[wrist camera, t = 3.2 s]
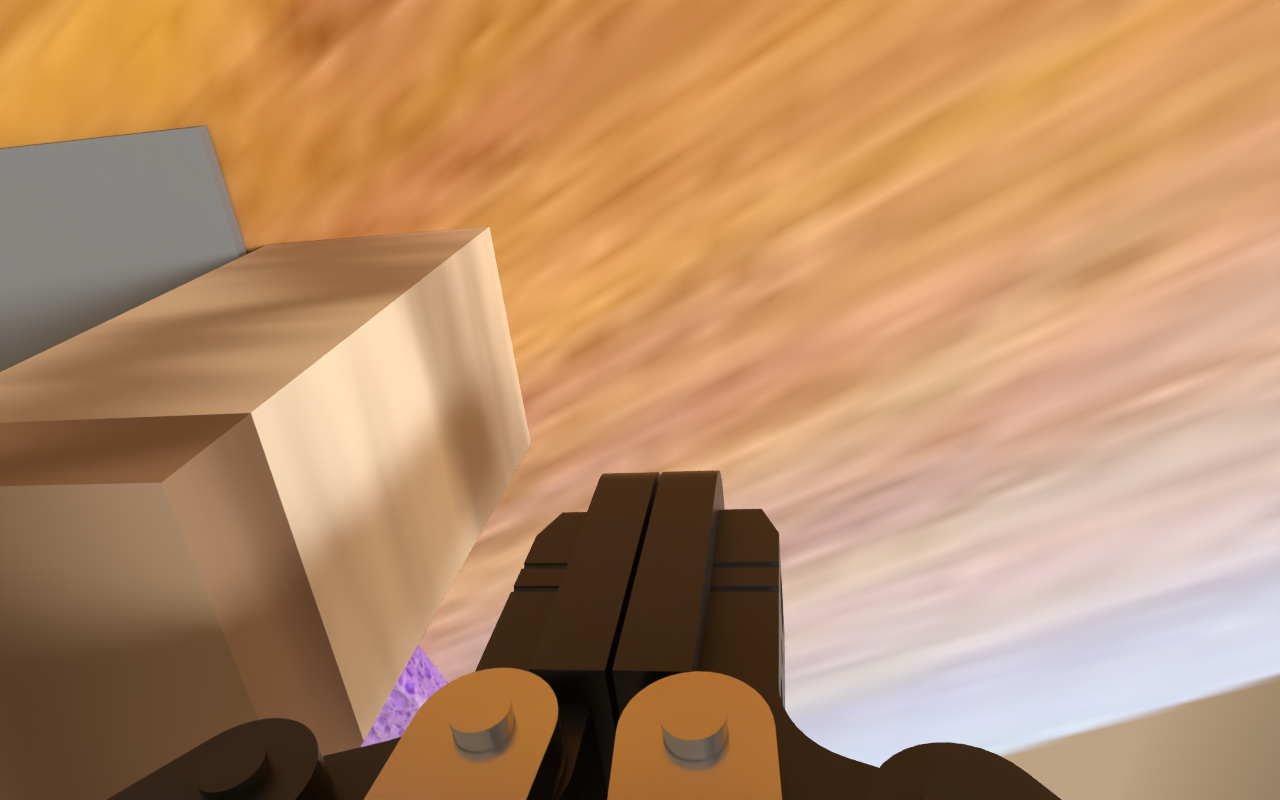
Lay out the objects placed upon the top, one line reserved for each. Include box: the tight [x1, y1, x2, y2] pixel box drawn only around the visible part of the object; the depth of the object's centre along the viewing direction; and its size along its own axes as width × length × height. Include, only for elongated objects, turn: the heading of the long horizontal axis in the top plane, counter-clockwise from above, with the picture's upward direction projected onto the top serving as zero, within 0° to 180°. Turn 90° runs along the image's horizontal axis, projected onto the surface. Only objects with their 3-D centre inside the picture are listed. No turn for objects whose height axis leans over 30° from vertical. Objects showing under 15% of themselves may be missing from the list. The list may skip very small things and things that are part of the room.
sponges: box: [361, 646, 448, 747], centre depth 24 cm, size 7×13×2 cm, turn 117°
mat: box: [0, 125, 247, 372], centre depth 20 cm, size 10×10×1 cm
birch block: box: [0, 227, 531, 800], centre depth 14 cm, size 5×5×10 cm
